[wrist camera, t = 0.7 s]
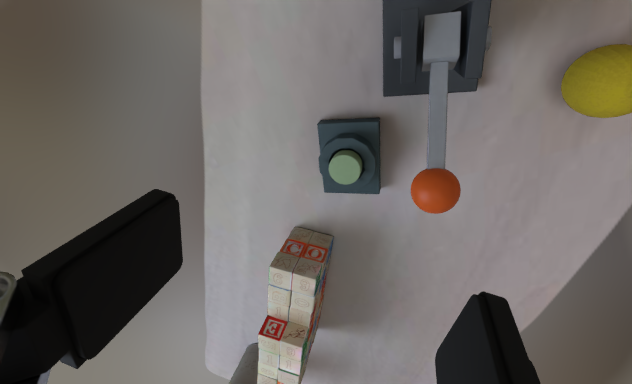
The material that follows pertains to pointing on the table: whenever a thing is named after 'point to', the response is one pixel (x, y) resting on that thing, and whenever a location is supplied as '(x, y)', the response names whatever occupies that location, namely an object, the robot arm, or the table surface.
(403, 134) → the table surface
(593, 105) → the lemon
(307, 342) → the stack of blocks
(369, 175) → the dark piece
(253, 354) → the thermos bottle
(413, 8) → the switch bracket
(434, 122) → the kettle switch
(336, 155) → the green round button
